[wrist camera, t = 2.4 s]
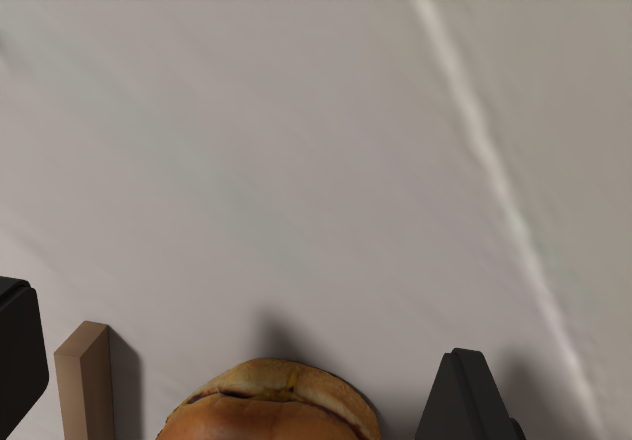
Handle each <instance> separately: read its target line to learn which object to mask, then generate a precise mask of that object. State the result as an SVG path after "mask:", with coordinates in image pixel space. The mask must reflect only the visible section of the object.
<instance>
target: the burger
mask: <svg viewBox="0 0 632 440" xmlns="http://www.w3.org/2000/svg"><path fill="white" fill-rule="evenodd" d="M156 440H381V433H380V429H379V424H378V421H377V417H376V415H375V413H374V411H373V410H372V409H371V408H370V407H369V405H368V404H367V403H366V402H365V401H364V400H363V399H362V398H361V396H360V395H359V394H358V393H356V392H355V391H354V390H353V389H352V388H351V387H350V386H349V385H348V384H346V383H345V382H344V381H342V380H341V379H339V378H338V377H333V376H332V375H330V374H329V373H327V372H325V371H322V370H319V369H316V368H313V367H310V366H306V365H304V364H300V363H297V362H292V361H286V360H285V359H282V360H277V359H273V358H259V359H254V360H251V361H247V362H245V363H242V364H239V365H238V366H236V367H234V368H232V369H230V370H228V371H226V372H225V373H223V374H221V375H220V376H218V377H216V378H214V379H212V380H211V381H210V382H208V383H207V384H205V385H204V386H202V387H201V388H199V389H198V390H197V391H195V392H194V393H193V394H192V395H191V396H189V397H188V398H187V399H186V400H185V401H184V402H183V403H182V404H181V405H180V406H178V407H177V408H176V409H175V410H174V411H173V412H172V414H171V415H170V416H169V417H168V418H167V421H166V425H165V427H164V428H163V430H161V432H160V433H159V434H158V436H157V438H156Z"/></svg>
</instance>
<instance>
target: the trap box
mask: <svg viewBox="0 0 632 440" xmlns="http://www.w3.org/2000/svg"><path fill="white" fill-rule="evenodd" d="M54 360H55V367H56V375H57V383H58V390H59V398H60V405H61V413H62V421H63V428H64V436H65V440H115V434H114V418H113V403H112V387H111V371H110V355H109V340H108V325H105V324H99V323H94V322H88V321H84V322H83V323H82V324H81V325H80V326H79V327H78V328H77V329H76V330H75V331H74V332H73V333H72V334H71V335H70V337H69V338H68V339H67V340H66V341H65V342H64V343H63V344H62V345H61V346H60V347H59V348H58V349H57V350H56V351H55V352H54Z"/></svg>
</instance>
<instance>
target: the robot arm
mask: <svg viewBox="0 0 632 440" xmlns="http://www.w3.org/2000/svg"><path fill="white" fill-rule="evenodd" d="M48 382H49V371H48V364H47V358H46V351H45V345H44V338H43V332H42V325H41V319H40V312H39V305H38V299H37V293H36V290H35V289H34V288H31V286H30V284H29V282H28V281H26V280H22V279H15V278H9V277H3V276H0V440H6V439H7V437H8V436H9V435H10V434H11V432H12V431H13V430H14V429H15V427H16V426H17V425H18V424H19V422H20V421H21V420H22V419H23V418H24V416H25V415H26V414H27V413H28V411H29V410H30V409H31V408H32V406H33V405H34V404H35V403H36V402H37V400H38V399H39V398H40V397H41V395H42V394H43V393H44V391H45V390H46V388H47V385H48ZM415 440H526V438H525V436H524V433H523V431H522V429H521V427H520V425H519V424H518V422H517V421H516V420H515V419H513V418H509V415H508V413H507V410H506V408H505V406H504V403H503V401H502V398H501V396H500V394H499V391H498V389H497V386H496V384H495V382H494V379H493V377H492V374H491V372H490V370H489V367H488V365H487V362H486V360H485V357H484V355H483V354H482V353H481V352H480V351H474V350H468V349H461V348H454V349H453V350H452V352H451V353H445V354H444V356H443V358H442V361H441V363H440V366H439V369H438V372H437V375H436V378H435V381H434V383H433V386H432V389H431V392H430V395H429V398H428V401H427V404H426V406H425V409H424V412H423V415H422V418H421V421H420V424H419V426H418V429H417V432H416V436H415Z"/></svg>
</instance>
